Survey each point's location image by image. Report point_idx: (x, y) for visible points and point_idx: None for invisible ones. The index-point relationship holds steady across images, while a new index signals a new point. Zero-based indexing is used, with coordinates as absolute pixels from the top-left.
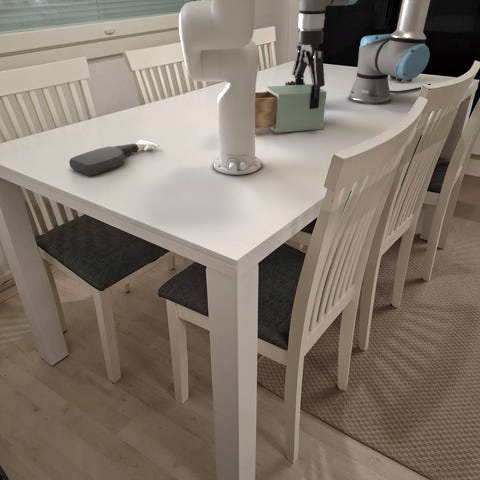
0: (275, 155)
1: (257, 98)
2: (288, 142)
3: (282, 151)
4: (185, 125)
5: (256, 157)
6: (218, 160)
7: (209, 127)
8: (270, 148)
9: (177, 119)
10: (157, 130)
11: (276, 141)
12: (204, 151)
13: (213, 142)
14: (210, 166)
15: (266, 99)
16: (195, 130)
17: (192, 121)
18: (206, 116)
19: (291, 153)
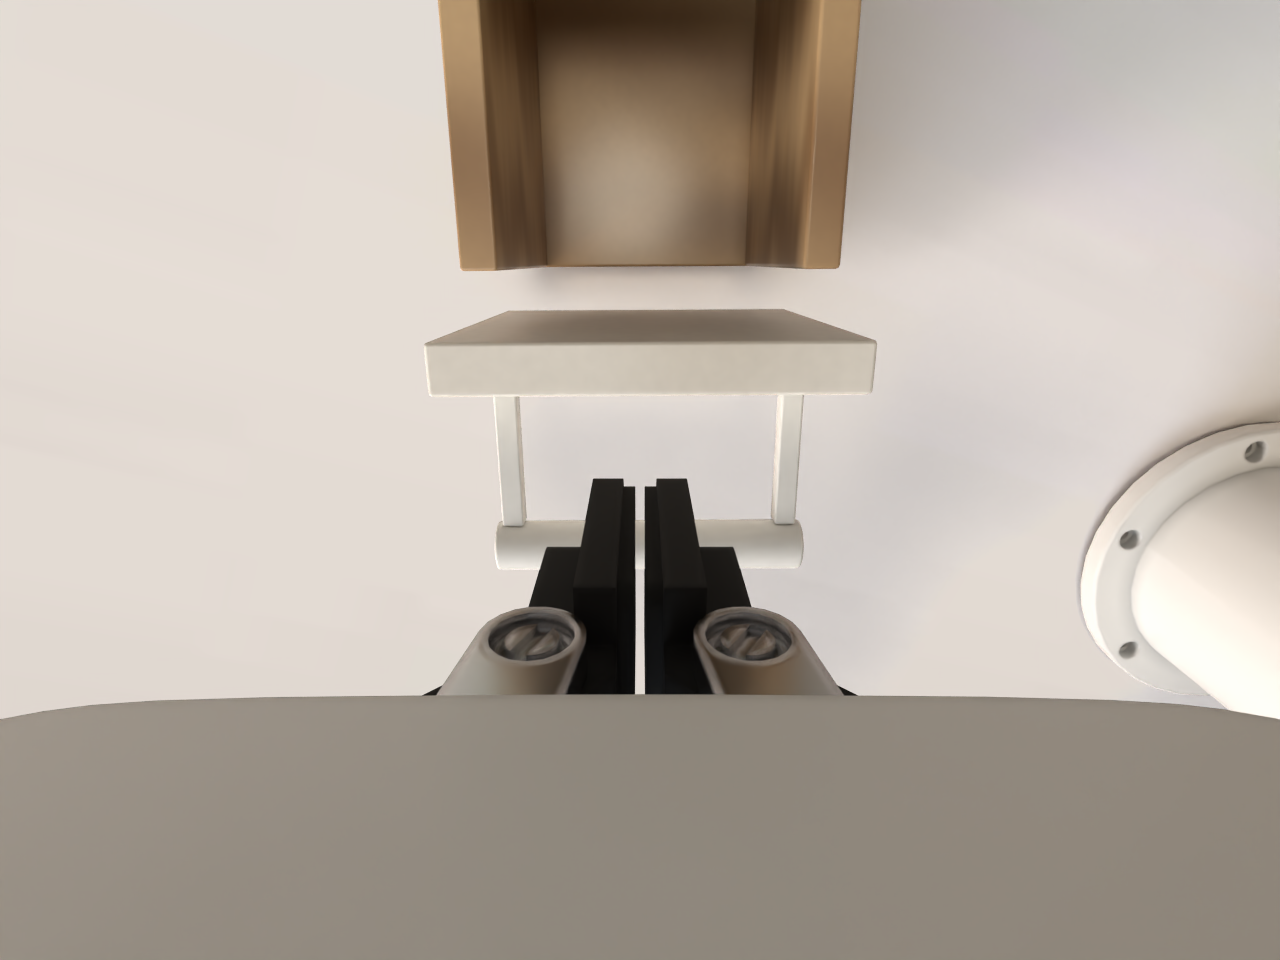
0: (1225, 260)
1: (815, 225)
2: (1040, 19)
3: (1190, 170)
4: (333, 669)
5: (1263, 439)
6: (1154, 663)
7: (424, 531)
8: (1078, 240)
9: (174, 690)
10: None
11: (961, 121)
12: (890, 668)
13: (758, 583)
14: (1130, 690)
15: (852, 82)
16: (466, 632)
17: (244, 608)
18: (120, 483)
19: (1272, 114)
